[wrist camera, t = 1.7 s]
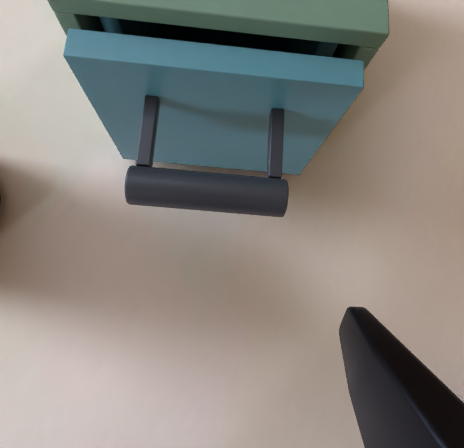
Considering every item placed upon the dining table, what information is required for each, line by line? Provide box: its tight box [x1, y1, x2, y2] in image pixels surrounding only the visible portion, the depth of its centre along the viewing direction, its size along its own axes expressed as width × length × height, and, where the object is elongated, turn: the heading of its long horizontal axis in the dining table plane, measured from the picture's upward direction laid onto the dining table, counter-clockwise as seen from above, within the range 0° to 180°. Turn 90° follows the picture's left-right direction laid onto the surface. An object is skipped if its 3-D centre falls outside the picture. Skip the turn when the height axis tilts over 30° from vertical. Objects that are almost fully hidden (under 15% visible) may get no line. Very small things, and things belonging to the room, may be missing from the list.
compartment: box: [63, 17, 364, 217], centre depth 19 cm, size 18×11×10 cm, turn 176°
